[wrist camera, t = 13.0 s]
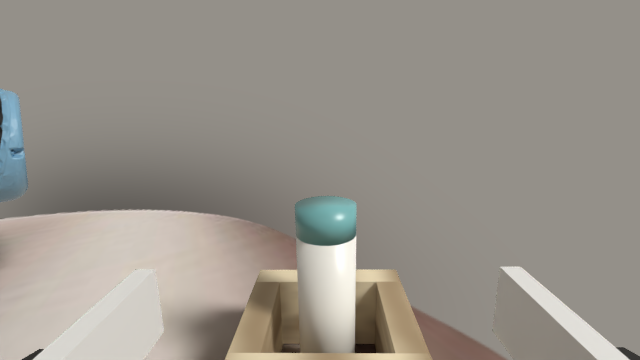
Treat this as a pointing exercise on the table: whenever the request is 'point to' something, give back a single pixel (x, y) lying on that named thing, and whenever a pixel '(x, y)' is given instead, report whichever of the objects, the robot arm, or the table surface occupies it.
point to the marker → (326, 273)
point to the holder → (370, 320)
